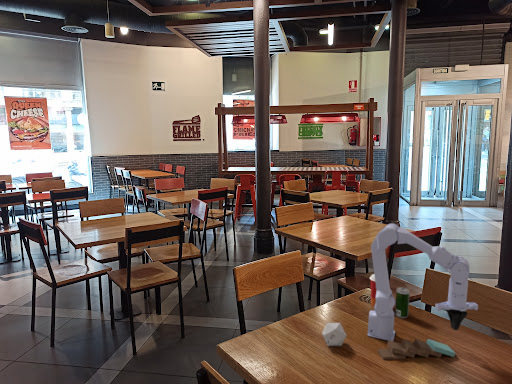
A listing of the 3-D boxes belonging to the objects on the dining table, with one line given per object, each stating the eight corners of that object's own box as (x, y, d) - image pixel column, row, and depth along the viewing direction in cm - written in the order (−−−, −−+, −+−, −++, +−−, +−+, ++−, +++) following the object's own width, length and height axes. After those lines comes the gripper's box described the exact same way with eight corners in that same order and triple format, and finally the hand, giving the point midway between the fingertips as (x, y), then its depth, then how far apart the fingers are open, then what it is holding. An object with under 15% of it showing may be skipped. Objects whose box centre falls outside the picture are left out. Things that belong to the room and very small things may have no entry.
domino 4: (440, 357, 127) (419, 350, 127) (433, 349, 132) (413, 342, 131) (442, 353, 127) (421, 346, 126) (434, 345, 132) (415, 339, 131)
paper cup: (386, 302, 170) (387, 274, 168) (386, 309, 163) (387, 280, 161) (368, 300, 173) (370, 272, 171) (368, 307, 166) (369, 278, 164)
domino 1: (405, 360, 127) (382, 361, 126) (399, 352, 132) (377, 352, 131) (405, 356, 127) (383, 357, 126) (399, 348, 131) (377, 348, 131)
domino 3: (427, 357, 127) (407, 350, 127) (421, 349, 132) (401, 343, 132) (429, 354, 127) (408, 346, 126) (422, 346, 132) (402, 339, 131)
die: (317, 342, 138) (320, 331, 131) (328, 324, 143) (331, 313, 136) (336, 355, 135) (340, 345, 128) (346, 336, 140) (351, 326, 133)
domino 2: (413, 357, 127) (391, 351, 127) (408, 349, 132) (387, 344, 132) (415, 353, 127) (393, 347, 127) (409, 345, 132) (388, 340, 132)
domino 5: (453, 357, 128) (433, 350, 127) (445, 348, 132) (426, 342, 132) (455, 353, 127) (435, 346, 127) (447, 345, 132) (427, 338, 132)
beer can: (404, 319, 154) (406, 293, 152) (392, 315, 158) (394, 289, 156) (410, 315, 158) (411, 289, 156) (398, 311, 162) (399, 286, 160)
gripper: (444, 297, 123) (441, 335, 124) (485, 296, 123) (481, 333, 125) (433, 289, 130) (430, 324, 131) (471, 288, 130) (468, 323, 132)
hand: (454, 328), depth 129 cm, fingers closed
